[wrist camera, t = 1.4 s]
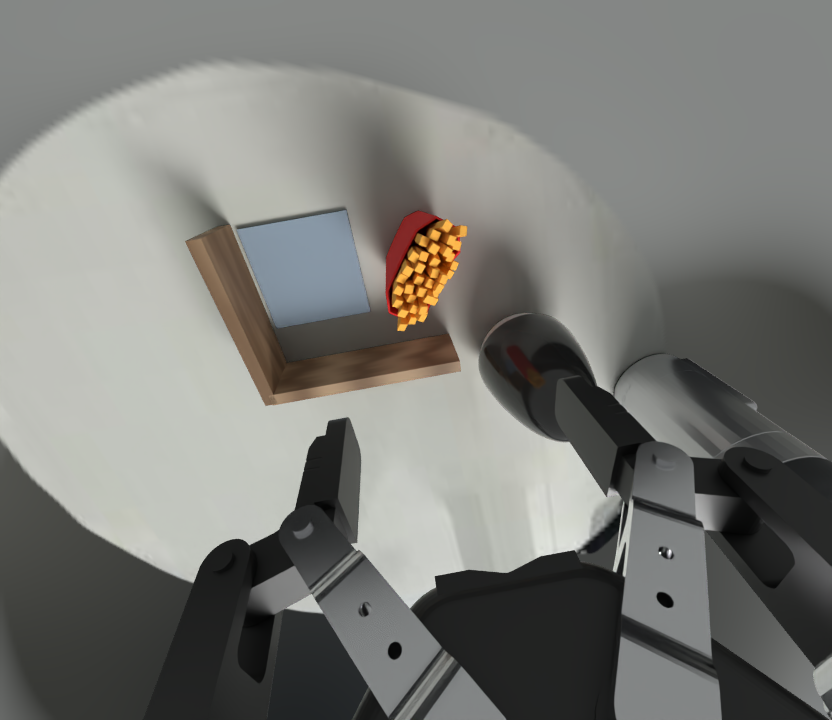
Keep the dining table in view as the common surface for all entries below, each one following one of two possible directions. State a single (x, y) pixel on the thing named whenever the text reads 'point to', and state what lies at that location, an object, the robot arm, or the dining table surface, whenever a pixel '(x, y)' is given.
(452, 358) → the wooden corner bracket
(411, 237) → the french fries
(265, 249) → the mat
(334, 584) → the robot arm
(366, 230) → the dining table surface
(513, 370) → the pump dispenser
